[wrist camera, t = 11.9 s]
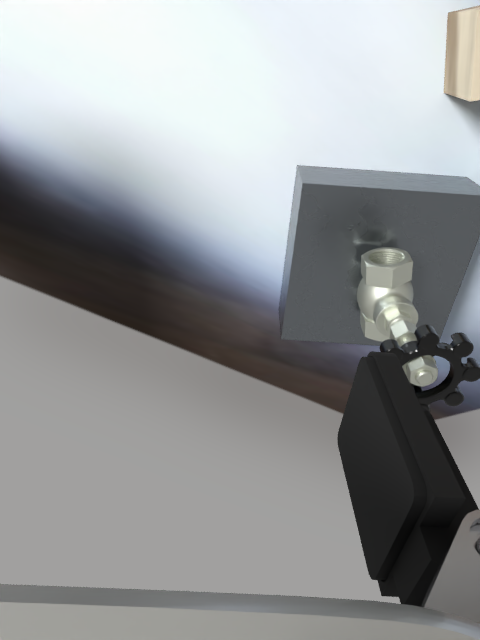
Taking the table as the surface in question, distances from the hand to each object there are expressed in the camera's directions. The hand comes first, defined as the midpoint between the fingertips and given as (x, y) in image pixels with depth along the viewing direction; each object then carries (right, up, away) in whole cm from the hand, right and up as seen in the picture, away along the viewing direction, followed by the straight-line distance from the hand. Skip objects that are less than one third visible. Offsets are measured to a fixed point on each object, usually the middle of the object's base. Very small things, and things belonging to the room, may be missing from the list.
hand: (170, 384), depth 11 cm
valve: (+13, +5, +25) cm, 29 cm away
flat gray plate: (+13, +8, +29) cm, 33 cm away
